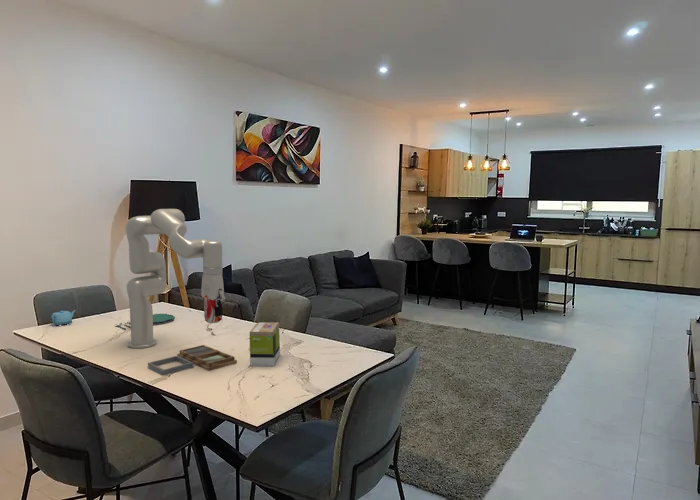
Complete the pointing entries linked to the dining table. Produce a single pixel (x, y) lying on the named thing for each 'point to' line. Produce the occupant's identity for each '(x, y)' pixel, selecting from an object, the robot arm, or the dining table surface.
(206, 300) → the soda can
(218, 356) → the two-pane wooden frame
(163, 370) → the holder frame
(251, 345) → the tea box
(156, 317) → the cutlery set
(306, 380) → the dining table surface
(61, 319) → the teapot
